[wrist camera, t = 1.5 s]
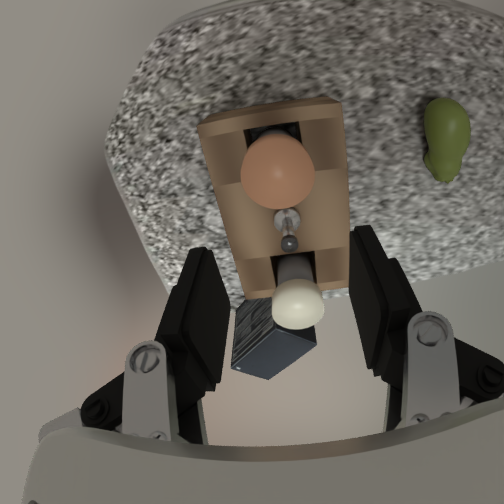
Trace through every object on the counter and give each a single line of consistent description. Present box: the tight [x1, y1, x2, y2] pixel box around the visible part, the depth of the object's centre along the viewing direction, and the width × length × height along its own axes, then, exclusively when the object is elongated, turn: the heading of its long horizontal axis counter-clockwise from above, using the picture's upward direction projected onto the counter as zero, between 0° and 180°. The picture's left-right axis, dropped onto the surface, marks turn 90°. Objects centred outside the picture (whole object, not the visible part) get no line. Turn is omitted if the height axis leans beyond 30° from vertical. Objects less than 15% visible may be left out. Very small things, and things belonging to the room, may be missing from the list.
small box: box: [231, 297, 317, 380], centre depth 37 cm, size 11×6×10 cm, turn 149°
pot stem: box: [274, 207, 300, 253], centre depth 25 cm, size 2×2×5 cm
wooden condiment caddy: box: [196, 96, 350, 300], centre depth 29 cm, size 12×20×6 cm, turn 11°
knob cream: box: [272, 252, 325, 329], centre depth 28 cm, size 5×5×8 cm
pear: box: [424, 98, 471, 184], centre depth 24 cm, size 6×5×10 cm
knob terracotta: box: [241, 127, 315, 209], centre depth 21 cm, size 5×5×8 cm
